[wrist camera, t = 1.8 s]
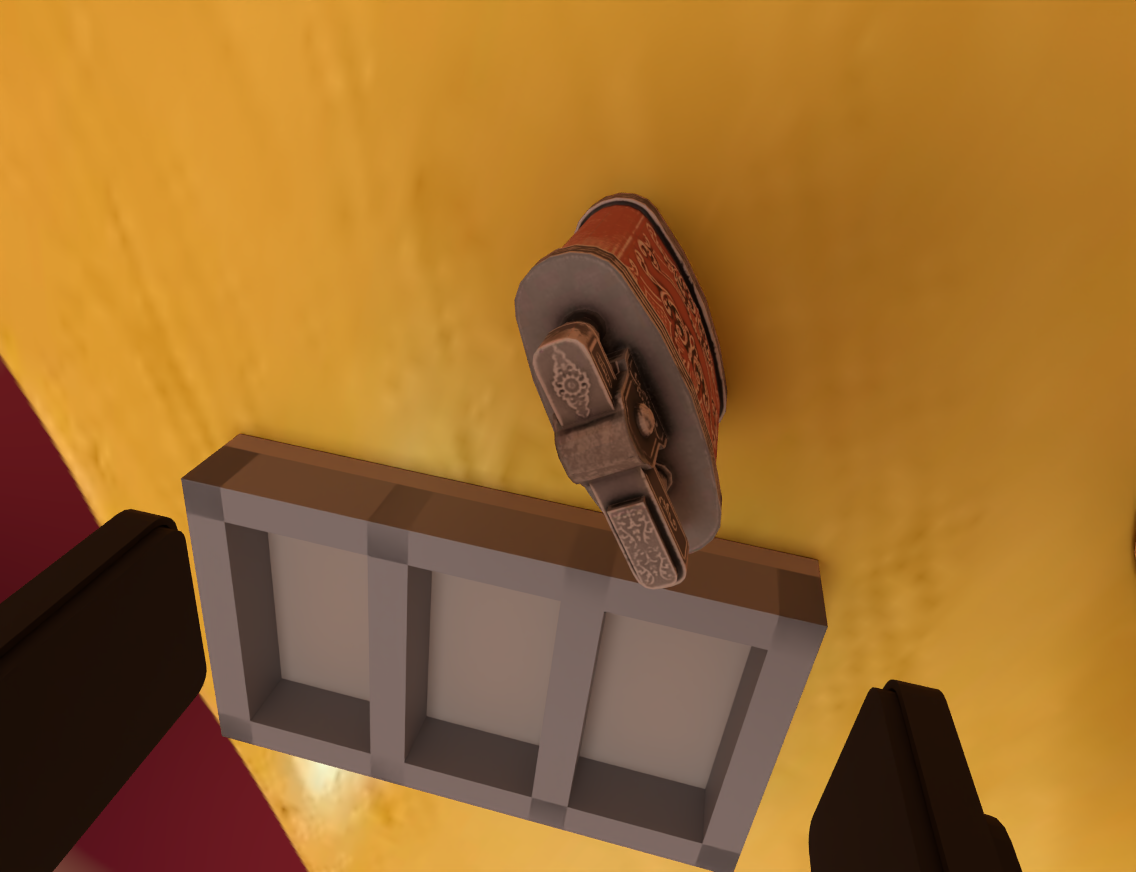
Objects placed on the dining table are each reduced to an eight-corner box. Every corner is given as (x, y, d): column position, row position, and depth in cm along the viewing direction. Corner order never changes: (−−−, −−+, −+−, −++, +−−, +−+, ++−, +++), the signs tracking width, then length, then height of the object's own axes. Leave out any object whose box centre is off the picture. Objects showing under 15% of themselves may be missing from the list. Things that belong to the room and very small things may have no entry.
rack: (818, 560, 26) (827, 626, 23) (732, 799, 33) (731, 876, 30) (239, 433, 29) (181, 478, 26) (266, 677, 36) (221, 735, 33)
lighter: (555, 218, 23) (441, 322, 14) (658, 173, 22) (601, 256, 13) (652, 439, 26) (606, 639, 17) (748, 409, 24) (750, 608, 16)
